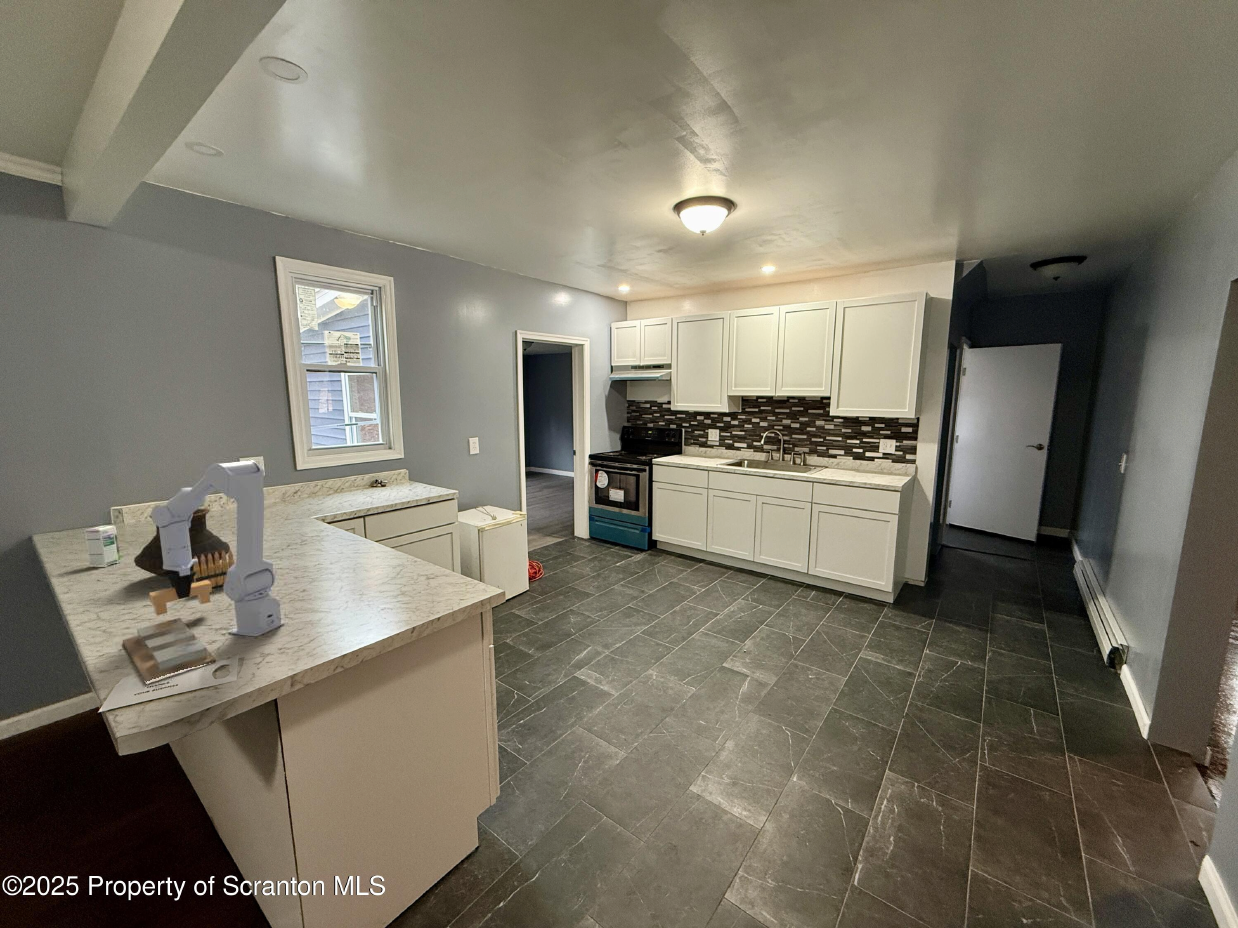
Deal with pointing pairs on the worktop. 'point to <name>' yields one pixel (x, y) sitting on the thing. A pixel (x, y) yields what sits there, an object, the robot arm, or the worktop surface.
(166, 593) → the tan rectangular plank
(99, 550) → the syrup box
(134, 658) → the rail base
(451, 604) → the worktop surface
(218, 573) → the ammunition clip
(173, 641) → the rail
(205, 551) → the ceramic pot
